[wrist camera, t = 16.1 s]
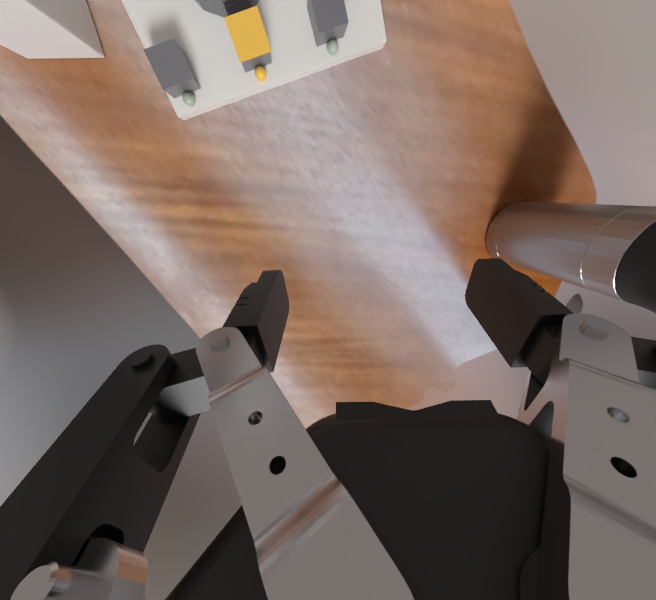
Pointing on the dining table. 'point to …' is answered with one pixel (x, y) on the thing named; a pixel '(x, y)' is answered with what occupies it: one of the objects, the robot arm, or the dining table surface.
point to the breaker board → (249, 45)
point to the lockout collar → (226, 6)
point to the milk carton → (49, 29)
